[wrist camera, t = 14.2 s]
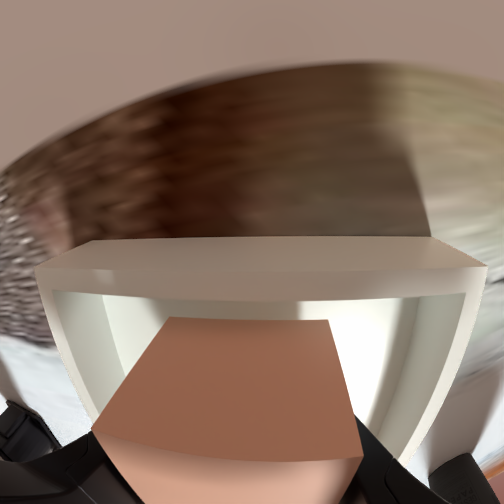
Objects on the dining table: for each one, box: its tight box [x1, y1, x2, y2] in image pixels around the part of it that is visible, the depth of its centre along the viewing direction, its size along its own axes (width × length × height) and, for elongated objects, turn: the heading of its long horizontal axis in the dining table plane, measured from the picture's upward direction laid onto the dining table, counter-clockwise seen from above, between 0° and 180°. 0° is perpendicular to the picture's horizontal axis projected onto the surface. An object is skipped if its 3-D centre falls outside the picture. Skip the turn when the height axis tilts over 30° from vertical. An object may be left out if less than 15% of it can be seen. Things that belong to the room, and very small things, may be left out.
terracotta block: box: [91, 316, 364, 504], centre depth 7 cm, size 5×5×5 cm
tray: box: [33, 236, 488, 468], centre depth 11 cm, size 18×15×4 cm
